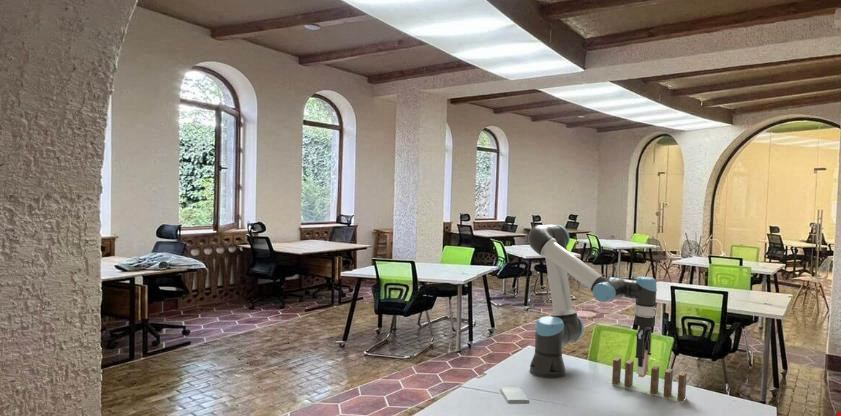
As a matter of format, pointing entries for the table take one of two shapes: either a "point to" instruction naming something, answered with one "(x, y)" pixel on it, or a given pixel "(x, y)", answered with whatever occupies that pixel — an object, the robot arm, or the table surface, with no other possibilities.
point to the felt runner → (647, 390)
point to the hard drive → (514, 395)
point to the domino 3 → (645, 364)
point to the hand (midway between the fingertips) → (642, 372)
